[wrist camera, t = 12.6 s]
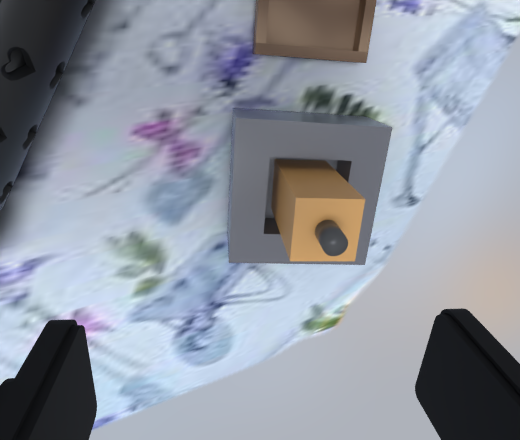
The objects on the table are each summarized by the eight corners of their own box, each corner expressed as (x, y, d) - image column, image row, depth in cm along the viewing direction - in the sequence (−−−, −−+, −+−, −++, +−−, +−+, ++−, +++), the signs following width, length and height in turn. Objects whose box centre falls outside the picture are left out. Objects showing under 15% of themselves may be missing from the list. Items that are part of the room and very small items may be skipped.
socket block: (232, 107, 34) (235, 117, 28) (365, 116, 35) (392, 127, 30) (227, 233, 39) (228, 262, 33) (344, 236, 40) (364, 264, 34)
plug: (274, 158, 34) (302, 209, 23) (325, 160, 34) (377, 210, 23) (271, 207, 35) (295, 276, 24) (319, 208, 36) (365, 276, 25)
